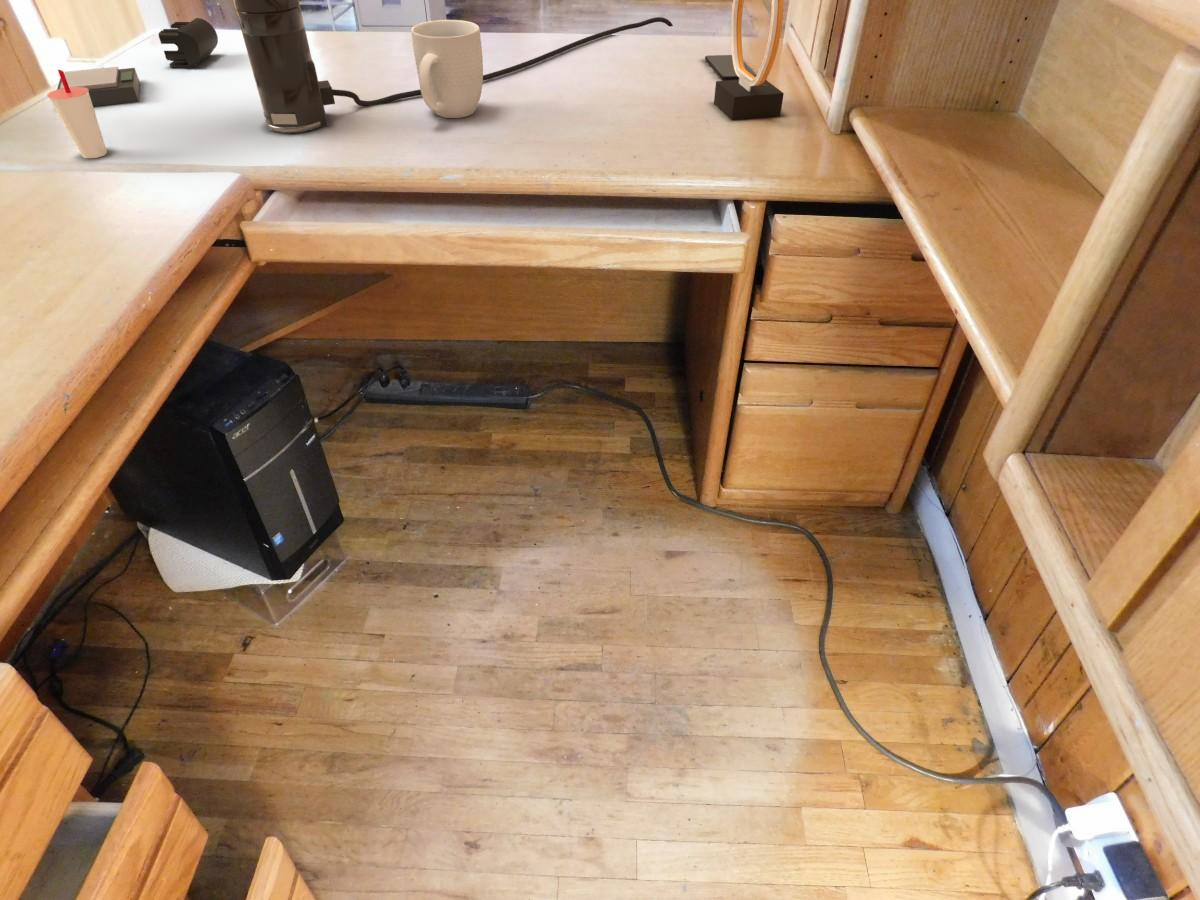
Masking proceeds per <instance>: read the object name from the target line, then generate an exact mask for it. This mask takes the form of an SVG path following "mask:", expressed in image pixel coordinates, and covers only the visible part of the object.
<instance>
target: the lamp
mask: <svg viewBox="0 0 1200 900" xmlns="http://www.w3.org/2000/svg"><path fill="white" fill-rule="evenodd" d="M744 2H745V0H732V6H731V16H730V17H731V18H730V46H731V55H732V59H733V66H734V70H735V73H736V74H737V76H738V77H739V80H726V81H723V80H716V81H715V87H714V97H713V99H714V100H713V104H714V105H715V107H717V109H719V110H720V111H721V112H722V113H723V114H724V115H726V116H727V118H729V119H730V120H731V121H739V120H749V119H752V120H753V119H765V118H774V117H776V118H777V117H781V113H782V106H783V100H784V94H785V93H784V92H783V91H781V90H780V89H779V88H777V87H776V86H775V85H773V84H772V83H771V82H769V81H768V80H767V78H768V77H769V75H770V72H771V71H772V68H773V65H774V62H775V60H776V56H777V53H778V49H779V44H780V39H781V33H782V28H783V19H784V0H771V11H770V24H769V32H768V38H767V43H766V48H765V51H764V55H763V58H762V61H761V64H760V66H759V69H758V71H757V73H756V77H754V76H753V75H752V74H750V73H749V72H748V71H747V70H746V69H745V67H744V62H745V61H744V56H743V41H742V40H743V39H742V37H743V36H742V25H743V24H742V23H743V8H744ZM743 61H744V62H743Z"/></svg>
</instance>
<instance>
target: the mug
mask: <svg viewBox="0 0 1200 900" xmlns="http://www.w3.org/2000/svg"><path fill="white" fill-rule="evenodd" d="M410 29H411V31H410V32H411V40H412V47H413V55H414V61H415V66H416V72H417V76H418V83H419V84H418V85H419V90H421V94H422V95H421V97H422V100H423V102H424V103H425V105H426V106H427V107H428V108H429V109H431V110H432V111H433V112H434V113H435V114H436V115H437V116H439V117H441V118H445V119H462V118H467V117H469V116H472V115H473V114H474V113H475V112H476V109H477V107H478V105H479V103H480V99H481V96H482V92H483V91H482V90H483V85H484V81H483V75H484V64H483V63H484V59H483V58H484V57H483V47H482V40H481V39H482V38H481V29H480V26H479V25H478V24H476V23H474V22H473V21H467V20H463V19H462V20H460V19H437V20H430V21H429V20H428V21H424V22H420V23H418V24H415V25H414V26H412V27H411V28H410Z"/></svg>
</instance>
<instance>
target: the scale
mask: <svg viewBox="0 0 1200 900" xmlns="http://www.w3.org/2000/svg"><path fill="white" fill-rule="evenodd" d="M64 75H65V77H66V80H67V83H68V86H69V87H85V88H88V89H89V91H88V92H89V95H90V98H91V102H92V105H93V108H95V107H103V106H112V105H120V104H121V105H122V104H128V103H139V101H140V84H141V82H140V79H139V75H138V73H137V70H136V68H135V67H129V68H128V67H127V68H119V66H110V67H100V68H89V69H79V70H70V71H64ZM56 88H57V89H62V88H64V86H63V83H62V80H61V78H59V82H58V84H57V87H56ZM57 89H56V90H57Z"/></svg>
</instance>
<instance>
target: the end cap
mask: <svg viewBox="0 0 1200 900" xmlns="http://www.w3.org/2000/svg"><path fill="white" fill-rule="evenodd" d="M158 38H159V41H160V44H161V45H175V46H176V47H177V50H164V51H163V53H164V56H165V59H166V60H167V61H170V63H169V68H171V69H191V68H192V69H193V68H194V67H196V66H197V65H198V64H200V63H201V62H202V61H203V60H205V59H206V58H207V57H209V56H210V55H211V54H212V53H213V52H214V50H215V49H216V48H217V46H218V43H219V42H218V41H219V37H218V34H217V31H216V28H214V26H213V25H212V24H211V23H210V22H209V21H207V20H205V19H203V18H201V17H195V18H194V19H193V20H191V21H175V22H174V23H171V25H170V28H163V30H160V32H158Z"/></svg>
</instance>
